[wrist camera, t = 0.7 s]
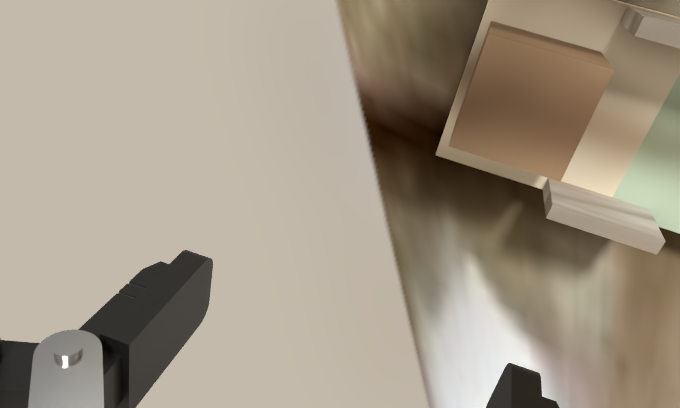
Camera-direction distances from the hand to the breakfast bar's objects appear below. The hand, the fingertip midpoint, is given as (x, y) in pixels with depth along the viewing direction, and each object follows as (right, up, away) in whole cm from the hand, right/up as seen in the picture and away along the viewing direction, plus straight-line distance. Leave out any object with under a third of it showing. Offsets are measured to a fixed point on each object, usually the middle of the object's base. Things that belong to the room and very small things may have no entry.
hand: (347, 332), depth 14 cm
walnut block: (+9, +9, +14) cm, 19 cm away
